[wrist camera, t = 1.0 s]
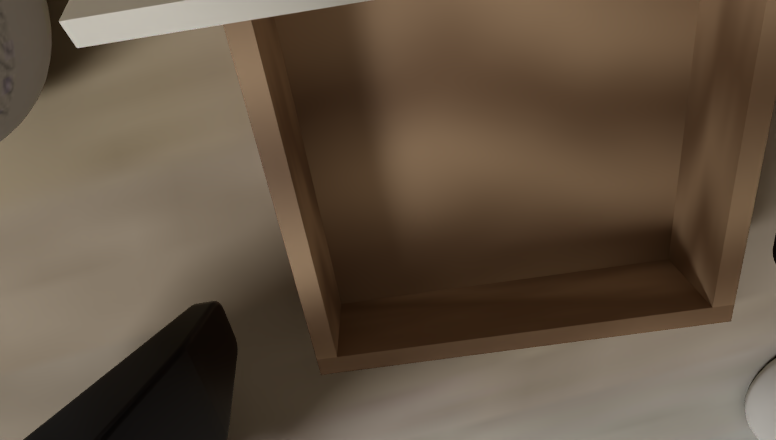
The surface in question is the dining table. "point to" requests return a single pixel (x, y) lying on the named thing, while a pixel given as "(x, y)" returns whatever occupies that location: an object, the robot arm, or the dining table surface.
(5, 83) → the teacup
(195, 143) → the dining table surface
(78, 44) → the grey flat panel
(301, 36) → the wooden tray
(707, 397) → the dining table surface
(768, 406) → the milk bottle
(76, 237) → the dining table surface
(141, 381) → the robot arm
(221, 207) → the dining table surface
